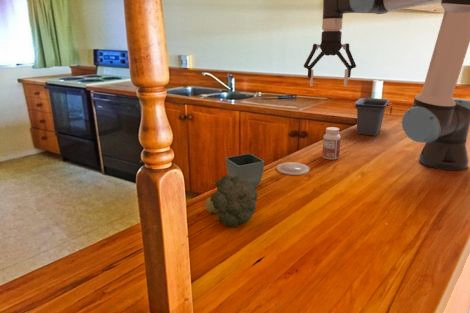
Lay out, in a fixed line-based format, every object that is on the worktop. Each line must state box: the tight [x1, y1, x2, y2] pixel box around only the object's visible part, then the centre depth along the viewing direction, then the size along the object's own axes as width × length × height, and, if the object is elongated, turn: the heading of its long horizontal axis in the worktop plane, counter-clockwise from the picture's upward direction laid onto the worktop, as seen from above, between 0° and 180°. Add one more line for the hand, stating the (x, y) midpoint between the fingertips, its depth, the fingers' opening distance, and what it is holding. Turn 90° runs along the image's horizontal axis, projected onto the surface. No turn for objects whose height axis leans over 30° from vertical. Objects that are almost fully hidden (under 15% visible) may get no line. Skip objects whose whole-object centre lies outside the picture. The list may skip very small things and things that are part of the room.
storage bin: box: [354, 97, 393, 136], centre depth 173 cm, size 21×16×14 cm
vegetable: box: [204, 174, 258, 228], centre depth 92 cm, size 12×13×15 cm
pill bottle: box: [322, 126, 341, 161], centre depth 137 cm, size 6×6×11 cm
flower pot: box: [225, 153, 265, 189], centre depth 111 cm, size 9×9×9 cm
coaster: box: [276, 162, 310, 176], centre depth 127 cm, size 11×11×1 cm
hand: (328, 86), depth 151 cm, fingers open, 13 cm apart
